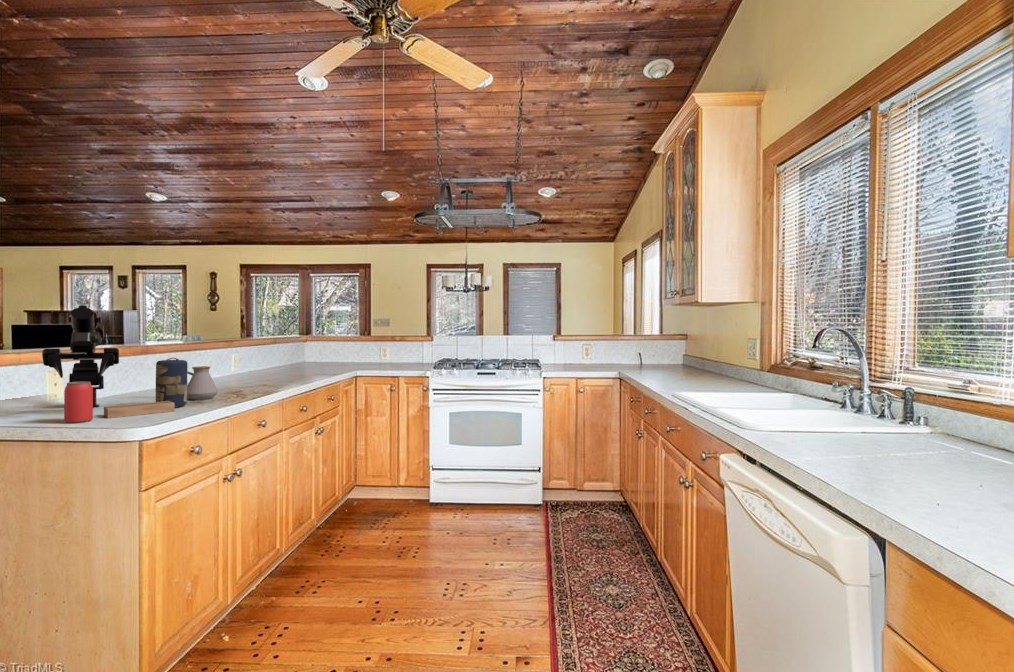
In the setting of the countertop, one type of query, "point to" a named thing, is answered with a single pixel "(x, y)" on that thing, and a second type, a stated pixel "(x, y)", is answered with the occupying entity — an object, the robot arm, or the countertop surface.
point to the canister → (171, 381)
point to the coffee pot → (201, 384)
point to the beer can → (78, 402)
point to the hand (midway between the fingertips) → (81, 376)
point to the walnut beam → (138, 409)
